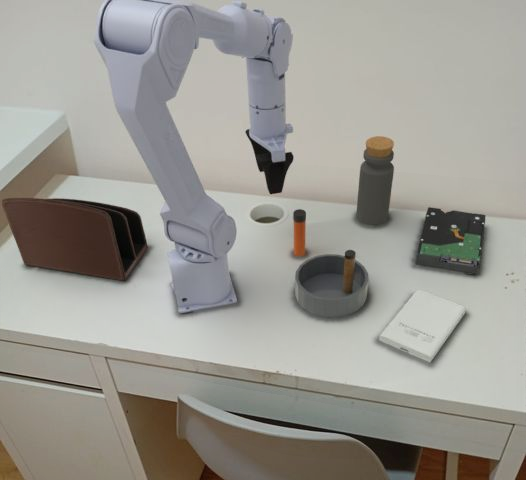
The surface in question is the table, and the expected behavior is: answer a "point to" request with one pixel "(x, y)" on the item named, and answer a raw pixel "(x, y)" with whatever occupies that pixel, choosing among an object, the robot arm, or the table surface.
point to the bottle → (375, 181)
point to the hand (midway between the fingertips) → (270, 181)
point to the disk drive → (451, 241)
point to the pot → (329, 286)
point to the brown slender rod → (348, 271)
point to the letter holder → (77, 235)
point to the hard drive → (423, 325)
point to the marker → (299, 231)
